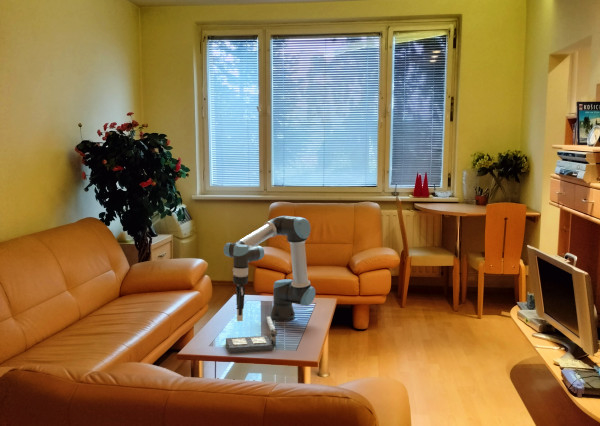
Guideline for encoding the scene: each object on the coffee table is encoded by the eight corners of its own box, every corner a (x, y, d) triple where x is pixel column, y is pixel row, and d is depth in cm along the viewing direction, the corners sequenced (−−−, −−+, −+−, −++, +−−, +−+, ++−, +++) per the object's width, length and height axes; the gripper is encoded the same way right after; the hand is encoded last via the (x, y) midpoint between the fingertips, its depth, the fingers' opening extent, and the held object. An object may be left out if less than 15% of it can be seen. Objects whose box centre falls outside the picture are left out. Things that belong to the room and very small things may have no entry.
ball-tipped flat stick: (277, 335, 278) (277, 330, 278) (271, 336, 278) (271, 331, 278) (271, 320, 303) (271, 315, 303) (265, 320, 303) (265, 316, 303)
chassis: (272, 340, 287) (273, 330, 287) (278, 350, 274) (279, 339, 273) (225, 343, 281) (225, 333, 280) (229, 353, 267) (229, 343, 267)
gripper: (231, 272, 276) (230, 317, 279) (235, 278, 264) (234, 325, 267) (245, 272, 278) (244, 316, 281) (250, 278, 266) (249, 324, 269)
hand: (239, 320), depth 274 cm, fingers closed
